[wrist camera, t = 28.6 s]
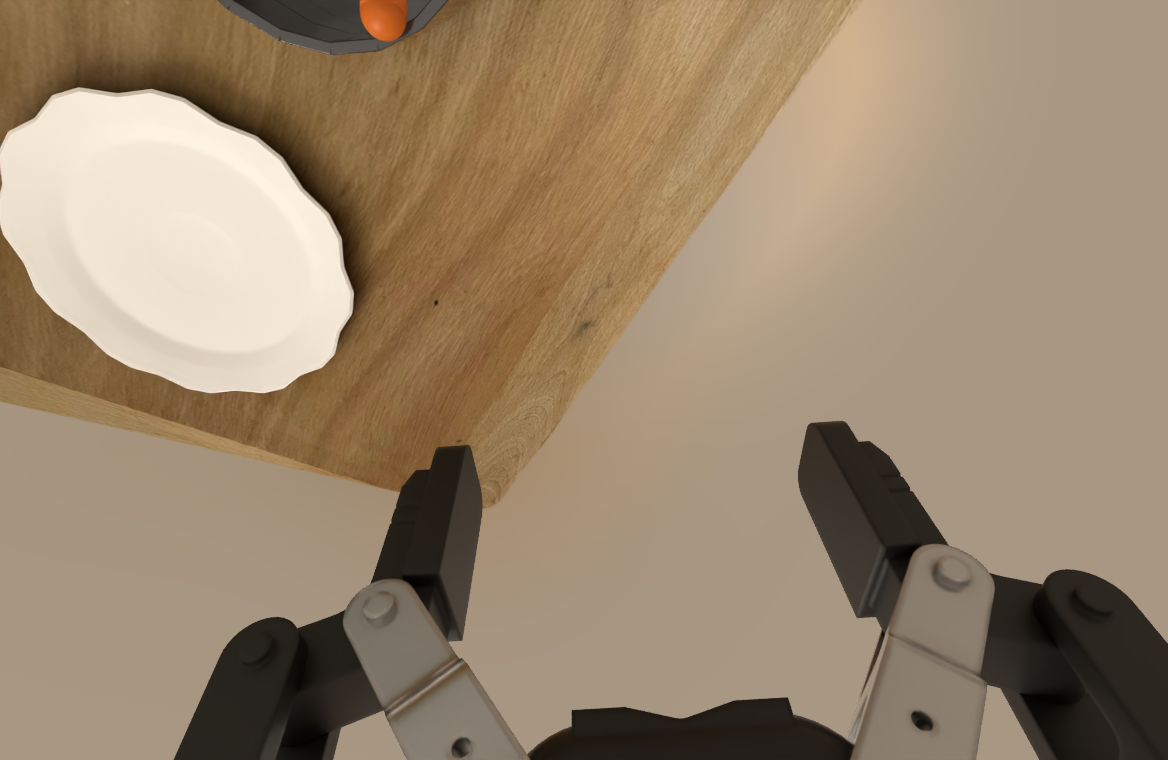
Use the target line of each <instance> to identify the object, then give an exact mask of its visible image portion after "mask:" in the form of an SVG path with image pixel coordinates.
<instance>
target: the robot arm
mask: <svg viewBox="0 0 1168 760" xmlns="http://www.w3.org/2000/svg"><path fill="white" fill-rule="evenodd" d="M798 482H799V488H800V492H801V495H802V498H803V500H804V502H805V504H806V506H807V509H808V511H809V513H810V515H811V517H812V520H813V522H814V524H815V526H816V528H817V531H818V533H819V535H820V537H821V539H822V542H823V544H824V546H825V548H826V551H827V553H828V555H829V557H830V559H831V562H832V564H833V566H834V568H835V570H836V573H837V575H838V577H839V579H840V582H841V584H842V586H843V588H844V591H845V593H846V595H847V597H848V599H849V602H850V604H851V606H852V608H853V610H854V613H855V615H856V617H857V618H864V617H876V618H877V620H878V622H879V624H880V626H881V628H882V630H881V632H880V634H879V637H878V640H877V643H876V646H875V649H874V652H873V655H872V658H871V661H870V665H869V668H868V671H867V674H866V677H865V681H864V683H863V686H862V689H861V692H860V695H859V699H858V702H857V705H856V708H855V710H854V713H853V716H852V719H851V722H850V724H849V727H848V730H847V732H846V735H845V738H844V737H842V736H841V735H839V734H838V733H836V732H834V731H833V730H831V729H829V728H828V727H826V726H823V725H821V724H819V723H817V722H815V721H813V720H810V719H807V718H804V717H801V716H796V715H793V713H792V709H791V706H790V703H789V700H788V698H770V699H753V700H736V701H732V702H729V703H727V704H724V705H721V706H718V707H715V708H712V709H710V710H707V711H705V712H701V713H699V714H696V715H693V716H690V717H688V718H684V719H679V718H672V717H668V716H663V715H659V714H654V713H650V712H645V711H640V710H636V709H631V708H626V707H619V708H603V709H602V708H601V709H584V710H572V727H569V728H566V729H563V730H561V731H559V732H557V733H555V734H553V735H551V736H550V737H548V738H547V739H545V740H544V741H542V742H541V743H540V744H538V745H537V746H536V747H535V748H534V749H533V750H532V751H530V752H529V753H528V754H526V752H525V751H524V749H523V748H522V746H521V745H520V743H519V742H518V740H517V739H516V737H515V736H514V734H513V733H512V731H511V729H510V728H509V727H508V725H507V724H506V722H505V720H504V719H503V718H502V716H501V714H500V713H499V711H498V710H497V708H496V707H495V705H494V704H493V702H492V701H491V699H490V698H489V696H488V694H487V693H486V691H485V690H484V688H483V687H482V685H481V684H480V682H479V681H478V679H477V678H476V676H475V675H474V673H473V672H472V670H471V669H470V667H469V666H468V664H467V663H466V662H465V661H464V660H463V659H462V658H461V659H459V658H458V656H457V655H456V654H455V652H454V651H453V649H452V647H451V646H450V644H449V643H448V641H462V639H463V633H464V626H465V620H466V614H467V607H468V601H469V594H470V588H471V582H472V575H473V569H474V563H475V556H476V550H477V544H478V537H479V531H480V524H481V518H482V493H481V488H480V483H479V479H478V475H477V471H476V467H475V463H474V459H473V455H472V451H471V448H470V446H469V445H463V446H448V447H438V448H437V449H436V451H435V454H434V457H433V461H432V465H431V468H430V470H416V471H415V472H414V473H413V474H412V476H411V477H410V478H409V479H408V480H407V482H406V483H405V484H404V485H403V486H402V489H401V492H400V495H399V498H398V501H397V504H396V509H395V511H394V514H393V517H392V520H391V521H392V523H391V524H390V526H389V529H388V532H387V535H386V539H385V541H384V545H383V548H382V551H381V554H380V557H379V560H378V563H377V567H376V569H375V573H374V576H373V579H372V581H371V584H370V585H368V586H366V587H365V588H363V589H362V590H361V591H360V592H358V593H357V594H356V595H355V597H353V599H352V600H351V601H350V603H349V604H348V606H347V608H346V610H344V611H342V612H340V613H338V614H336V615H333V616H331V617H328V618H325V619H322V620H320V621H317V622H314V623H311V624H308V625H306V626H303V627H300V628H296V626H295V625H294V624H293V622H291V621H290V620H288V619H285V618H281V617H271V618H266V619H263V620H260V621H257V622H255V623H253V624H251V625H249V626H248V627H246V628H244V629H243V630H242V631H240V632H239V633H238V634H237V635H236V636H235V637H234V638H233V639H232V640H231V641H230V642H229V643H228V644H227V646H226V647H225V649H224V650H223V652H222V654H221V656H220V658H219V660H218V662H217V664H216V667H215V669H214V671H213V673H212V675H211V678H210V680H209V682H208V684H207V687H206V689H205V691H204V693H203V695H202V698H201V700H200V702H199V704H198V707H197V709H196V711H195V713H194V716H193V718H192V720H191V722H190V724H189V727H188V729H187V731H186V733H185V736H184V738H183V740H182V743H181V745H180V747H179V749H178V751H177V754H176V756H175V758H174V760H333V758H334V754H335V750H336V746H337V742H338V738H339V733H340V730H341V727H343V726H346V725H348V724H351V723H353V722H356V721H358V720H361V719H363V718H366V717H368V716H370V715H373V714H376V713H378V712H380V711H383V710H384V712H385V715H386V717H387V720H388V722H389V724H390V726H391V728H392V730H393V732H394V734H395V736H396V738H397V740H398V743H399V745H400V747H401V749H402V751H403V753H404V755H405V757H406V759H407V760H976V756H977V750H978V743H979V738H980V731H981V725H982V718H983V712H984V706H985V699H986V693H987V685H990V686H994V687H998V688H1001V690H1002V692H1003V694H1004V696H1005V697H1006V699H1007V701H1008V703H1009V705H1010V707H1011V708H1012V710H1013V712H1014V714H1015V716H1016V718H1017V719H1018V721H1019V723H1020V725H1021V727H1022V729H1023V730H1024V732H1025V734H1026V736H1027V738H1028V740H1029V741H1030V743H1031V745H1032V747H1033V749H1034V750H1035V752H1036V754H1037V756H1038V758H1039V760H1168V643H1167V642H1166V641H1165V640H1164V639H1163V637H1162V636H1161V635H1160V634H1159V633H1158V631H1157V630H1156V629H1155V628H1154V627H1153V625H1152V624H1151V623H1150V622H1149V621H1148V620H1147V618H1146V617H1145V616H1144V615H1143V613H1142V612H1141V611H1140V610H1139V609H1138V607H1137V606H1136V605H1135V604H1134V602H1133V601H1132V600H1131V599H1130V598H1129V597H1128V596H1127V595H1126V594H1125V593H1123V592H1122V591H1121V590H1120V589H1118V588H1117V587H1116V586H1114V585H1113V584H1111V583H1109V582H1107V581H1106V580H1104V579H1102V578H1099V577H1097V576H1095V575H1092V574H1090V573H1086V572H1082V571H1077V570H1067V569H1066V570H1059V571H1055V572H1053V573H1051V574H1050V575H1049V576H1048V577H1047V578H1046V580H1045V581H1044V583H1043V584H1037V583H1032V582H1028V581H1022V580H1017V579H1013V578H1007V577H1003V576H998V575H994V574H991V573H989V572H988V570H987V569H986V568H985V567H984V566H983V565H982V564H981V563H980V562H979V561H978V560H977V559H975V558H973V556H971V555H969V554H968V553H966V552H964V551H962V550H960V549H957V548H954V547H951V546H949V545H948V544H947V542H946V541H945V539H944V538H943V536H942V535H941V533H940V532H939V530H938V529H937V527H936V526H935V524H934V523H933V521H932V520H931V518H930V517H929V515H928V514H927V512H926V511H925V509H924V508H923V506H922V505H921V503H920V502H919V500H918V499H917V497H916V496H915V495H914V493H913V492H912V491H910V487H909V485H908V484H907V482H906V481H905V479H904V478H903V477H901V476H900V472H899V470H898V469H897V468H896V466H895V465H894V463H893V462H892V460H891V459H890V457H889V456H888V455H887V454H886V453H884V452H883V451H881V450H880V449H879V448H878V447H876V446H875V445H874V444H873V443H871V442H870V441H865V442H858V440H857V439H856V437H855V436H854V434H853V432H852V431H851V429H850V427H849V426H848V424H847V423H846V422H844V421H832V422H818V423H810V424H809V425H808V427H807V430H806V435H805V440H804V445H803V449H802V455H801V459H800V465H799V469H798Z"/></svg>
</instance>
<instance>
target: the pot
mask: <svg viewBox="0 0 1168 760" xmlns="http://www.w3.org/2000/svg"><path fill="white" fill-rule="evenodd" d="M218 1H219V2H220V3H221V4H222V5H223V6H224V7H225V8H226V9H228V10H229V11H230V12H232V13H233V14H235V15H237V16H238V17H240V18H242V19H243V20H245V21H247V22H248V23H250V24H252V25H253V26H255V27H257V28H258V29H260V30H262V31H263V32H265V33H267V34H268V35H270V36H272V37H273V38H275V39H277V40H278V41H281V42H284V43H288V44H291V45H295V46H299V47H303V48H307V49H310V50H314V51H318V52H322V53H326V54H329V55H331V54H332V55H339V54H351V53H364V52H376V51H381V50H384V49H386V48H389V47H391V46H394V45H396V44H399V43H401V42H403V41H406V40H408V39H411V38H413V37H416V36H418V35H420V34H422V33H424V32H426V31H428V30H430V29H432V28H434V27H436V26H438V25H440V24H442V23H444V22H446V21H448V20H450V19H451V18H452V17H453V16H454V15H455V14H456V12H457V11H458V10H459V9H460V8H461V7H462V6H463V5H464V4H465V3H466V2H467V1H468V0H407V22H406V27H405V30H404V32H403V33H402V35H401V36H400V37H399V38H397V39H396V40H393V41H382V40H379V39H377V38H375V37H373V36H372V35H371V34H370V33H369V32H368V31H367V30H366V28H365V27H364V25H363V23H362V20H361V17H360V0H218Z"/></svg>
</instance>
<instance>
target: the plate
mask: <svg viewBox="0 0 1168 760" xmlns="http://www.w3.org/2000/svg"><path fill="white" fill-rule="evenodd" d="M0 170H1V178H2V188H1V192H0V225H1V229H2V232H3V235H4V236H5V238H6V239H7V240H8V242H9V243H10V245H11V246H12V247H13V249H14V250H15V252H16V253H17V254H18V256H19V257H20V258H21V260H22V261H23V263H24V264H25V267H26V269H27V271H28V274H29V276H30V278H31V281H32V283H33V286H34V288H35V290H36V292H37V293H38V294H39V295H40V296H41V297H42V298H43V300H44V301H45V302H46V303H47V304H48V305H49V306H50V308H51V309H52V310H53V311H54V312H55V313H57V314H58V315H60V316H61V317H63V318H64V319H66V320H67V321H68V322H70V323H71V324H73V325H74V326H76V327H77V328H79V329H80V330H82V331H83V332H84V333H85V334H86V335H87V336H88V337H89V338H91V339H92V340H93V341H94V342H95V343H96V344H97V345H98V346H99V347H100V348H101V349H102V350H103V351H104V352H105V353H106V354H108V355H110V356H111V357H113V358H115V359H117V360H118V361H120V362H122V363H124V364H125V365H127V366H129V367H131V368H135V369H138V370H142V371H145V372H149V373H153V374H156V375H160V376H162V377H164V378H166V379H168V380H170V381H172V382H174V383H176V384H179V385H181V386H183V387H185V388H187V389H192V390H197V391H202V392H208V393H217V392H226V391H235V390H238V391H247V392H257V393H266V392H270V391H275V390H279V389H283V388H285V387H286V386H287V385H288V384H290V383H291V382H292V381H294V380H295V379H296V378H298V377H299V376H300V375H303V374H306V373H308V372H311V371H314V370H317V369H319V368H322V367H323V366H324V365H325V364H326V363H327V362H328V361H329V360H330V359H331V358H332V357H333V356H334V354H335V352H336V348H337V344H338V339H339V335H340V332H341V330H342V329H343V327H344V325H345V324H346V322H347V321H348V319H349V318H350V316H351V315H352V313H353V303H354V290H353V287H352V284H351V282H350V279H349V276H348V274H347V271H346V268H345V266H344V255H343V243H342V236H341V234H340V232H339V230H338V229H337V227H336V225H335V223H334V221H333V219H332V217H331V215H330V213H329V212H328V211H327V210H326V209H325V208H324V207H323V206H322V205H321V204H320V203H319V202H318V201H317V200H316V199H315V198H314V197H313V196H312V195H311V194H310V193H309V192H308V191H307V190H306V189H305V188H304V187H303V186H302V184H301V183H300V181H299V180H298V178H297V177H296V175H295V174H294V172H293V171H292V169H291V168H290V166H289V165H288V163H287V162H286V160H285V159H284V157H283V156H282V155H280V154H279V153H278V152H277V151H276V150H274V149H273V148H272V147H271V146H269V145H268V144H267V143H266V142H264V141H263V140H262V139H261V138H260V137H258V136H257V135H254V134H252V133H249V132H247V131H244V130H242V129H239V128H237V127H234V126H231V125H229V124H226V123H224V122H221V121H220V120H218V119H217V118H215V117H214V116H212V115H211V114H209V113H208V112H206V111H205V110H203V109H202V108H200V107H199V106H197V105H196V104H194V103H193V102H191V101H190V100H188V99H187V98H184V97H181V96H177V95H174V94H170V93H167V92H163V91H160V90H156V89H147V90H139V91H132V92H124V93H115V92H108V91H102V90H96V89H89V88H83V87H78V88H75V89H71V90H68V91H65V92H61V93H58V94H55V95H52V96H51V98H50V99H49V100H48V101H47V103H46V104H45V105H44V107H43V108H42V109H41V110H40V112H39V113H38V114H37V116H36V117H35V118H34V119H32V120H30V121H28V122H26V123H24V124H22V125H20V126H18V127H16V128H14V129H12V130H10V131H8V133H7V135H6V137H5V139H4V142H3V144H2V146H1V148H0Z"/></svg>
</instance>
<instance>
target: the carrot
mask: <svg viewBox="0 0 1168 760" xmlns="http://www.w3.org/2000/svg"><path fill="white" fill-rule="evenodd" d="M360 17H361V20H362V23H363V25H364V27H365V28H366V30H367V31H368V32H369V33H370V34H371V35H372V36H373V37H375V38H377V39H379V40H382V41H393V40H396V39H397V38H399V37H400V36H401V35H402V33H403V32H404V30H405V27H406V22H407V0H360Z"/></svg>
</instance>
